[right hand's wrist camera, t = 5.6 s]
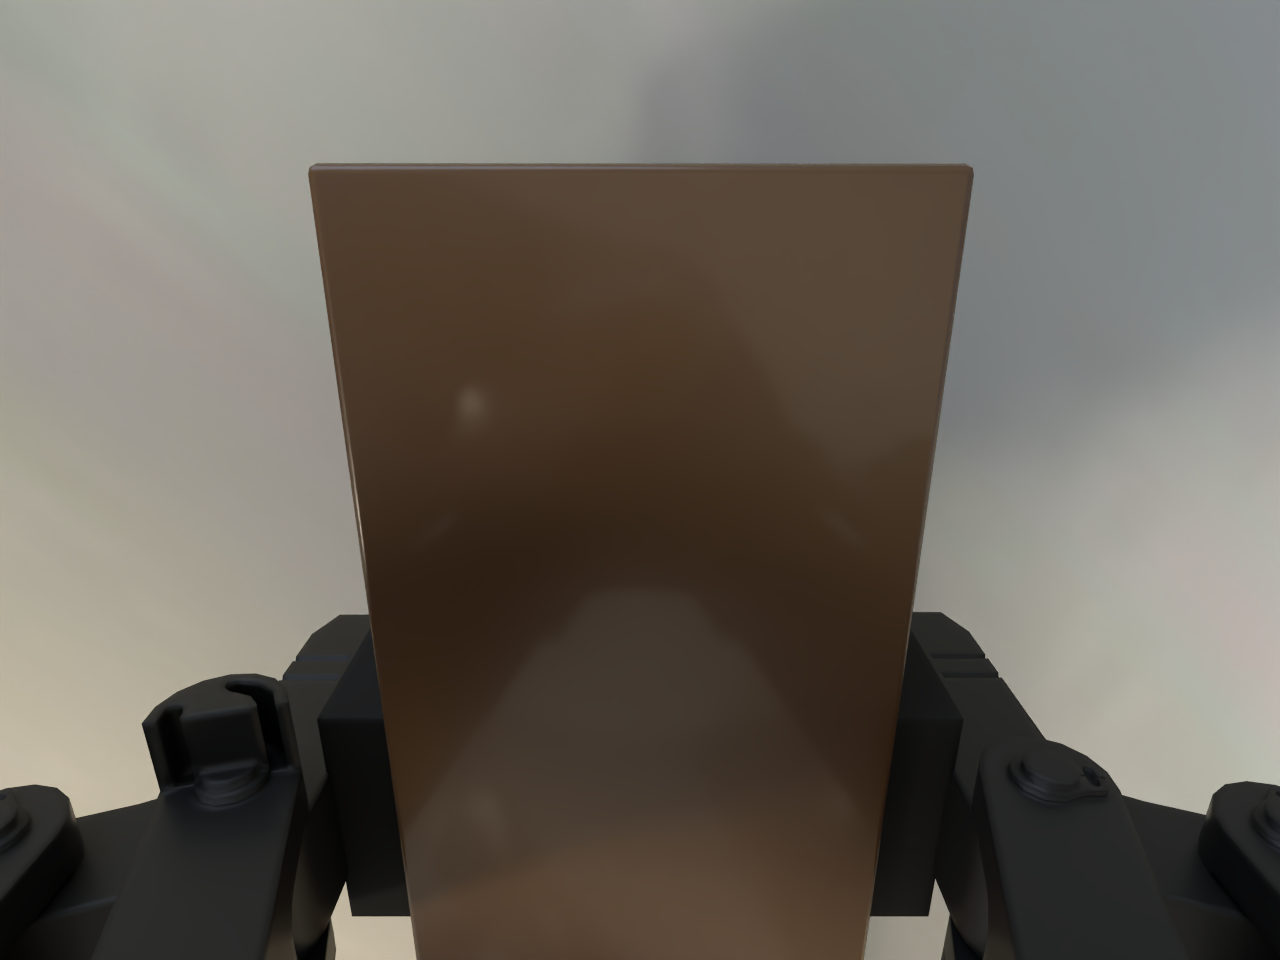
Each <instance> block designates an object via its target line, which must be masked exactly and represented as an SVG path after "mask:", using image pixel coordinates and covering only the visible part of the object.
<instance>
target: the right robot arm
mask: <svg viewBox="0 0 1280 960" xmlns="http://www.w3.org/2000/svg"><path fill="white" fill-rule="evenodd" d="M142 727H143V730H144V734H145V737H146V741H147V745H148V748H149V752H150V755H151V759H152V763H153V766H154V770H155V773H156V777H157V781H158V784H159V788H160V793H159V796H158V798H157V799H155V800H151V801H148V802H145V803H141V804H138V805H133V806H129V807H124V808H120V809H115V810H111V811H106V812H102V813H97V814H93V815H88V816H84V817H79V818H75V815H74V812H73V809H72V806H71V803H70V799H69V798H68V797H67V796H66V795H65V794H64V793H62V792H61V791H60V790H59V789H58V788H55V787H48V786H41V785H28V786H21V787H13V788H6V789H3V790H0V960H335V954H336V946H335V939H334V932H333V927H332V922H331V915H332V913H333V911H334V908H335V906H336V903H337V901H338V899H339V896H340V894H341V891H342V889H343V886H344V884H345V882H346V885H347V890H348V896H349V901H350V907H351V912H352V916H411V915H410V907H409V900H408V893H407V886H406V878H405V871H404V864H403V857H402V849H401V842H400V835H399V828H398V820H397V813H396V806H395V799H394V792H393V784H392V777H391V770H390V763H389V755H388V748H387V741H386V734H385V726H384V719H383V712H382V705H381V697H380V690H379V683H378V676H377V668H376V661H375V654H374V647H373V639H372V632H371V625H370V618H369V615H339V616H338V617H336V618H335V619H333V620H332V621H330V622H329V623H328V624H326V625H325V626H323V627H322V628H320V629H319V630H317V631H316V632H315V633H313V634H312V635H311V636H310V638H309V639H308V641H307V642H306V644H305V645H304V646H303V648H302V649H301V651H300V652H299V653H298V655H297V656H296V661H293V662H292V663H291V665H290V666H289V668H288V669H287V670H286V672H285V673H284V675H283V680H279V681H277V680H276V679H275V678H271V677H267V676H263V675H259V674H230V675H226V676H222V677H218V678H213V679H209V680H205V681H202V682H199V683H197V684H195V685H192V686H190V687H188V688H185V689H183V690H181V691H178V692H176V693H175V694H173V695H172V696H171V697H169V698H168V699H166V700H165V701H163V702H162V703H160V704H159V705H157V706H156V707H155V708H154V709H153V710H152V712H151V713H150V714H149V715H148V717H147V718H146V719H145V720H144V722H143V723H142ZM935 879H936V881H937V884H938V886H939V888H940V891H941V893H942V896H943V898H944V900H945V903H946V905H947V908H948V910H949V912H950V916H949V922H948V927H947V932H946V937H945V942H944V947H943V953H942V958H941V960H1280V786H1277V785H1271V784H1264V783H1256V782H1249V781H1245V782H1238V783H1232V784H1225V785H1224V786H1223V787H1221V788H1220V789H1219V790H1218V791H1217V792H1215V793H1214V794H1213V796H1212V799H1211V802H1210V805H1209V808H1208V811H1207V814H1206V815H1203V814H1199V813H1194V812H1190V811H1185V810H1181V809H1176V808H1172V807H1167V806H1163V805H1158V804H1154V803H1149V802H1145V801H1141V800H1137V799H1134V798H1131V797H1127V796H1124V795H1122V794H1121V792H1120V790H1119V788H1118V787H1117V785H1116V784H1115V783H1114V781H1113V780H1112V778H1111V777H1110V775H1109V774H1108V772H1106V771H1105V770H1104V769H1103V768H1101V767H1100V766H1099V765H1098V764H1096V763H1095V762H1094V761H1092V760H1091V759H1090V758H1089V757H1087V756H1086V755H1084V754H1082V753H1080V752H1077V751H1075V750H1073V749H1071V748H1069V747H1067V746H1065V745H1063V744H1060V743H1057V742H1053V741H1049V740H1046V739H1045V738H1044V736H1043V735H1042V734H1041V732H1040V731H1039V729H1038V728H1037V727H1036V725H1035V724H1034V722H1033V721H1032V719H1031V718H1030V717H1029V715H1028V714H1027V712H1026V711H1025V710H1024V708H1023V707H1022V705H1021V704H1020V703H1019V701H1018V700H1017V698H1016V697H1015V696H1014V694H1013V693H1012V691H1011V690H1010V689H1009V687H1008V686H1007V684H1006V683H1005V682H1004V680H1003V679H1002V678H999V677H998V672H997V670H996V669H995V668H994V666H993V665H992V663H991V662H990V661H989V659H985V654H984V652H983V651H982V649H981V648H980V647H979V645H978V644H977V642H976V641H975V639H974V638H973V637H972V635H971V634H970V632H969V631H967V630H966V629H964V628H963V627H961V626H960V625H959V624H957V623H956V622H954V621H953V620H951V619H950V618H948V617H947V616H945V615H944V614H943V613H941V612H912V619H911V626H910V634H909V641H908V648H907V655H906V662H905V669H904V676H903V683H902V691H901V698H900V705H899V712H898V719H897V726H896V733H895V741H894V748H893V755H892V762H891V769H890V776H889V783H888V790H887V798H886V805H885V812H884V819H883V826H882V833H881V840H880V848H879V855H878V862H877V869H876V876H875V883H874V890H873V897H872V905H871V912H870V916H928V915H929V910H930V904H931V899H932V893H933V888H934V882H935Z"/></svg>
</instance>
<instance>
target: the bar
mask: <svg viewBox="0 0 1280 960" xmlns="http://www.w3.org/2000/svg"><path fill="white" fill-rule="evenodd" d="M308 176H309V183H310V190H311V198H312V205H313V212H314V219H315V227H316V234H317V241H318V248H319V256H320V263H321V270H322V277H323V285H324V292H325V299H326V306H327V314H328V321H329V328H330V335H331V343H332V350H333V357H334V364H335V371H336V379H337V386H338V393H339V400H340V408H341V415H342V422H343V429H344V437H345V444H346V451H347V458H348V466H349V473H350V480H351V487H352V495H353V502H354V509H355V516H356V524H357V531H358V538H359V545H360V553H361V560H362V567H363V574H364V581H365V589H366V596H367V603H368V610H369V618H370V625H371V632H372V639H373V647H374V654H375V661H376V668H377V676H378V683H379V690H380V697H381V705H382V712H383V719H384V726H385V734H386V741H387V748H388V755H389V763H390V770H391V777H392V784H393V792H394V799H395V806H396V813H397V820H398V828H399V835H400V842H401V849H402V857H403V864H404V871H405V878H406V886H407V893H408V900H409V907H410V915H411V922H412V929H413V936H414V944H415V951H416V958H417V960H864V955H865V947H866V940H867V933H868V926H869V919H870V912H871V905H872V897H873V890H874V883H875V876H876V869H877V862H878V855H879V848H880V840H881V833H882V826H883V819H884V812H885V805H886V798H887V790H888V783H889V776H890V769H891V762H892V755H893V748H894V741H895V733H896V726H897V719H898V712H899V705H900V698H901V691H902V683H903V676H904V669H905V662H906V655H907V648H908V641H909V634H910V626H911V619H912V612H913V605H914V598H915V591H916V584H917V576H918V569H919V562H920V555H921V548H922V541H923V534H924V527H925V519H926V512H927V505H928V498H929V491H930V484H931V477H932V469H933V462H934V455H935V448H936V441H937V434H938V427H939V420H940V412H941V405H942V398H943V391H944V384H945V377H946V370H947V362H948V355H949V348H950V341H951V334H952V327H953V320H954V313H955V305H956V298H957V291H958V284H959V277H960V270H961V263H962V255H963V248H964V241H965V234H966V227H967V220H968V213H969V206H970V198H971V191H972V184H973V177H974V173H973V168H972V167H971V166H969V165H967V164H459V163H317V164H315V165H312V166H310V168H309V173H308Z"/></svg>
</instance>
